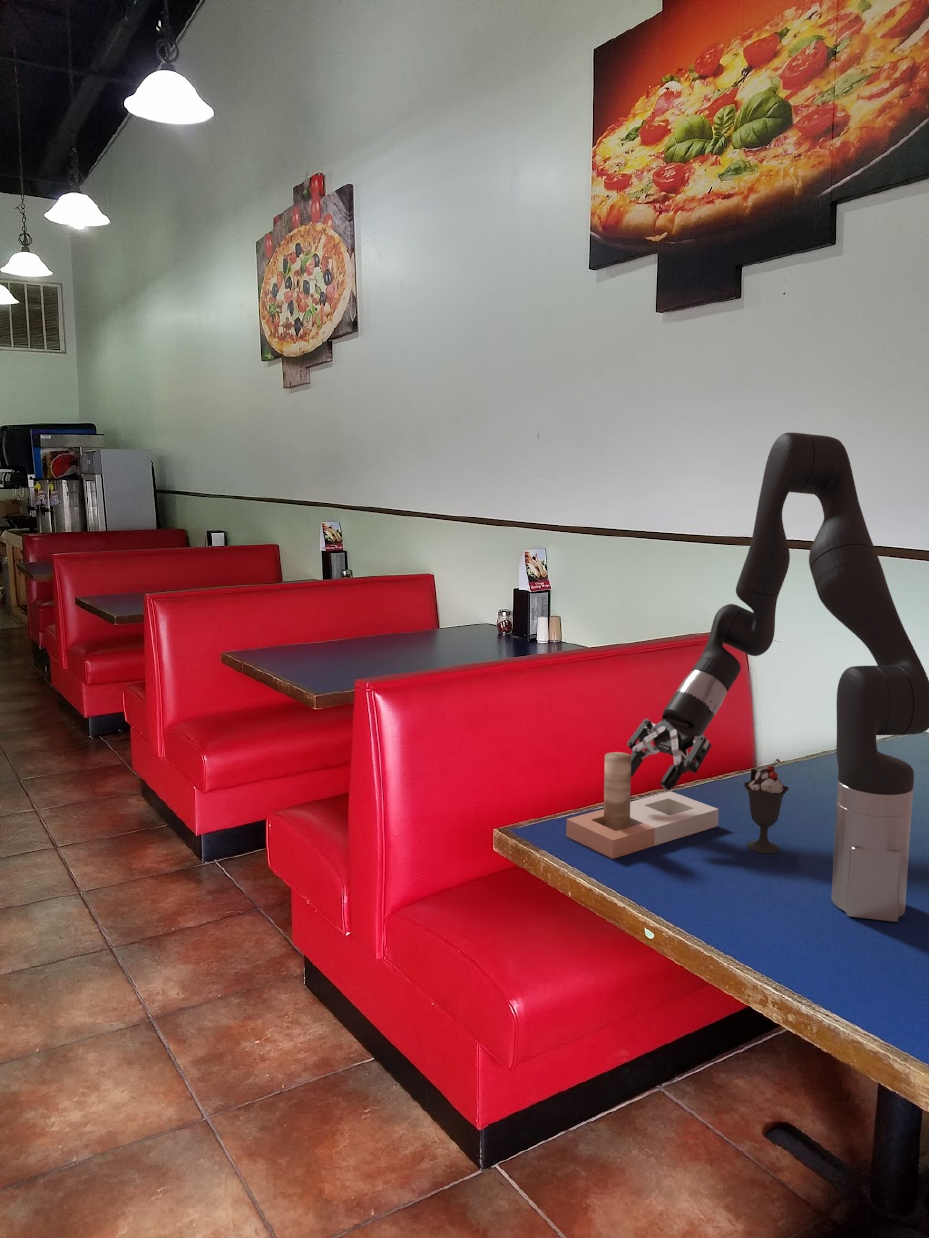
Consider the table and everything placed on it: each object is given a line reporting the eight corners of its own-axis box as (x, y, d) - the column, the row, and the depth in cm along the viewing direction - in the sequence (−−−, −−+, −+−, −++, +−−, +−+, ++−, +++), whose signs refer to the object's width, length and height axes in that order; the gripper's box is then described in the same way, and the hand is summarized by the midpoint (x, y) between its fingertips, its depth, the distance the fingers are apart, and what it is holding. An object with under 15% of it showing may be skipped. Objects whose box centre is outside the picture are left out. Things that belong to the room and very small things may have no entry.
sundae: (786, 858, 139) (790, 764, 137) (740, 853, 141) (744, 760, 139) (785, 842, 145) (790, 752, 143) (742, 837, 147) (745, 748, 145)
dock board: (612, 858, 139) (612, 840, 139) (566, 836, 148) (566, 818, 148) (718, 826, 152) (718, 808, 152) (669, 807, 161) (670, 791, 161)
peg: (628, 845, 144) (629, 760, 142) (601, 842, 146) (603, 758, 144) (630, 835, 148) (632, 753, 146) (605, 832, 150) (606, 751, 148)
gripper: (653, 682, 158) (604, 757, 153) (718, 698, 146) (666, 779, 141) (674, 708, 162) (626, 781, 157) (738, 725, 150) (688, 805, 145)
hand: (645, 780), depth 149 cm, fingers open, 8 cm apart
